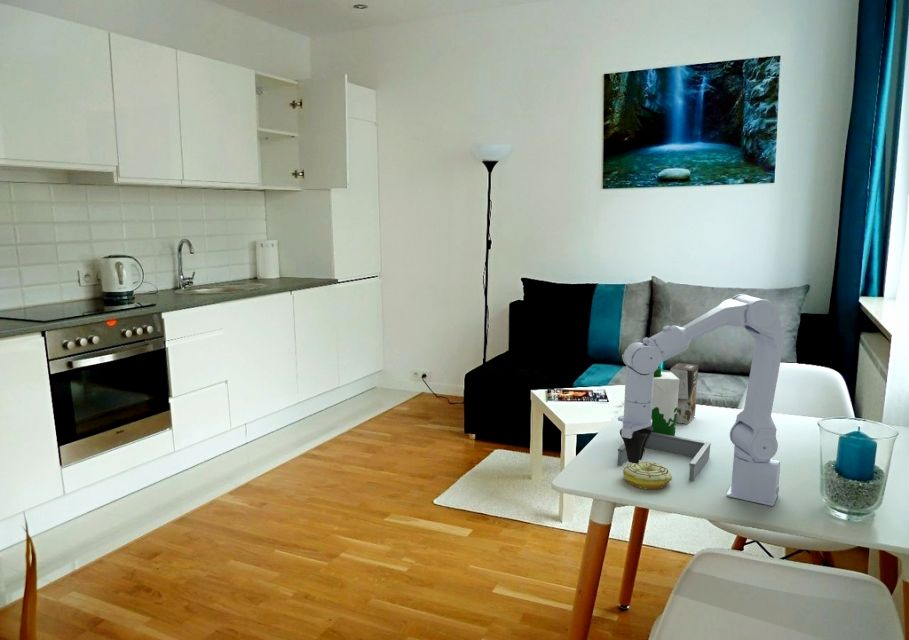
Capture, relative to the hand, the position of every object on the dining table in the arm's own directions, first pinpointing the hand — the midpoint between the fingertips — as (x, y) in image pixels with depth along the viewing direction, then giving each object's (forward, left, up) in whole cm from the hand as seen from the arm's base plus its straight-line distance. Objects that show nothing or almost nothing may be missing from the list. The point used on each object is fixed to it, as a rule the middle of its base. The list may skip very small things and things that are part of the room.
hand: (634, 460), depth 146 cm
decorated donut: (0, -10, -9) cm, 14 cm away
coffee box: (+5, -62, -9) cm, 63 cm away
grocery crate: (0, -24, -8) cm, 26 cm away
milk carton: (+6, -40, -9) cm, 42 cm away
